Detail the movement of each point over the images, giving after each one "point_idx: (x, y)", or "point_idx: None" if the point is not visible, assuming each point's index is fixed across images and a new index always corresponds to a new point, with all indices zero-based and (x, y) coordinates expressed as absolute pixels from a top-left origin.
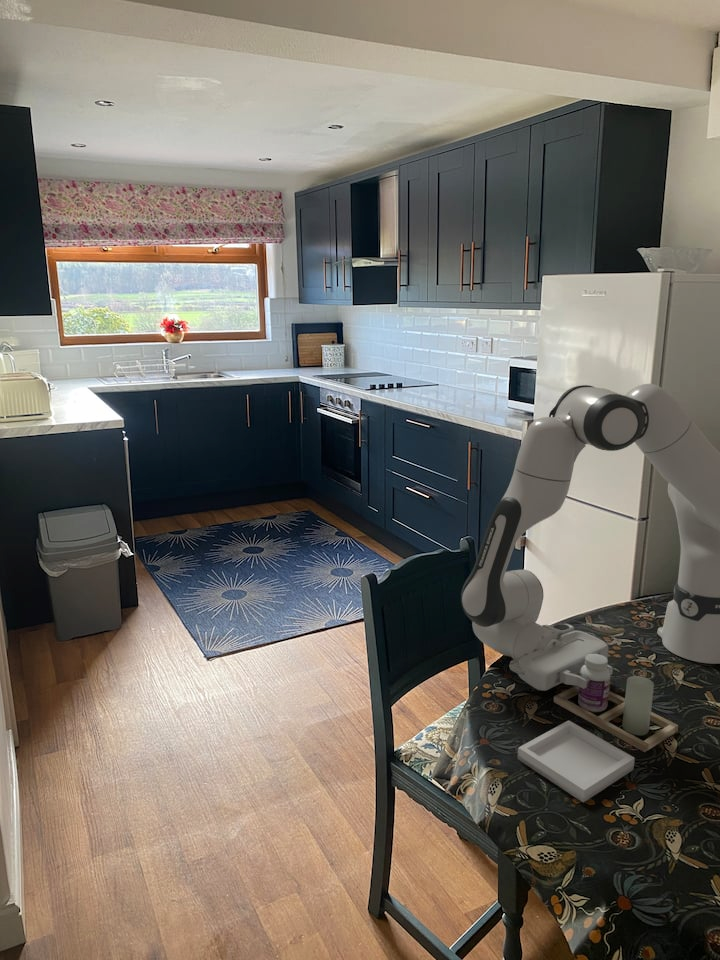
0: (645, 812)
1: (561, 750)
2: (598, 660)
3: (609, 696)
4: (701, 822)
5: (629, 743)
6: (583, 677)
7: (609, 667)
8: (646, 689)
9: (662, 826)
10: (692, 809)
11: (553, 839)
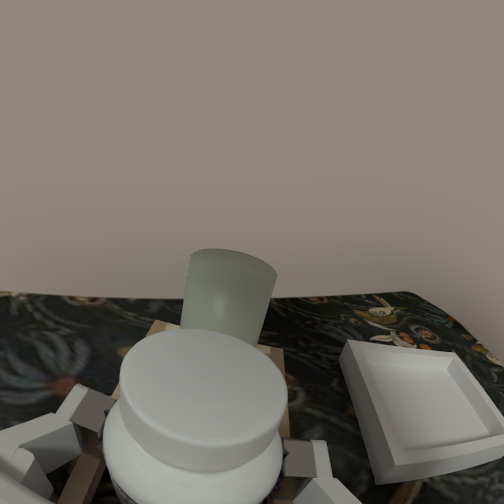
0: (382, 331)
1: (439, 432)
2: (226, 359)
3: (101, 467)
4: (335, 300)
5: None
6: (309, 456)
7: (90, 391)
8: (255, 258)
9: (378, 318)
10: (327, 306)
11: (486, 361)
